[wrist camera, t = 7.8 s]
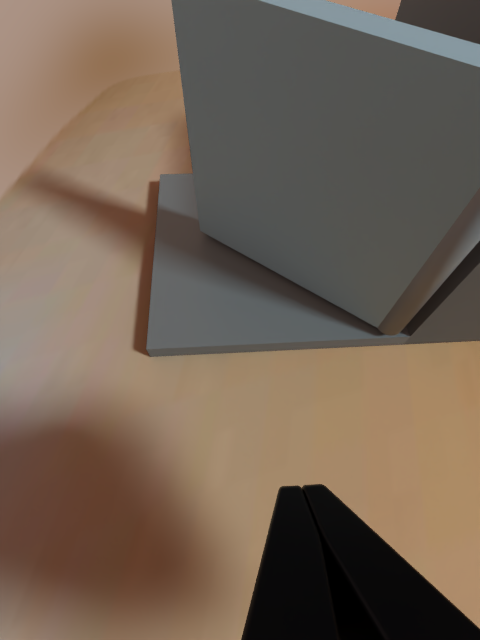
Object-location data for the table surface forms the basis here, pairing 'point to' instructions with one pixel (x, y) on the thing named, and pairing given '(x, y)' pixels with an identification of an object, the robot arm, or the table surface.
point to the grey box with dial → (274, 289)
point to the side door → (334, 147)
